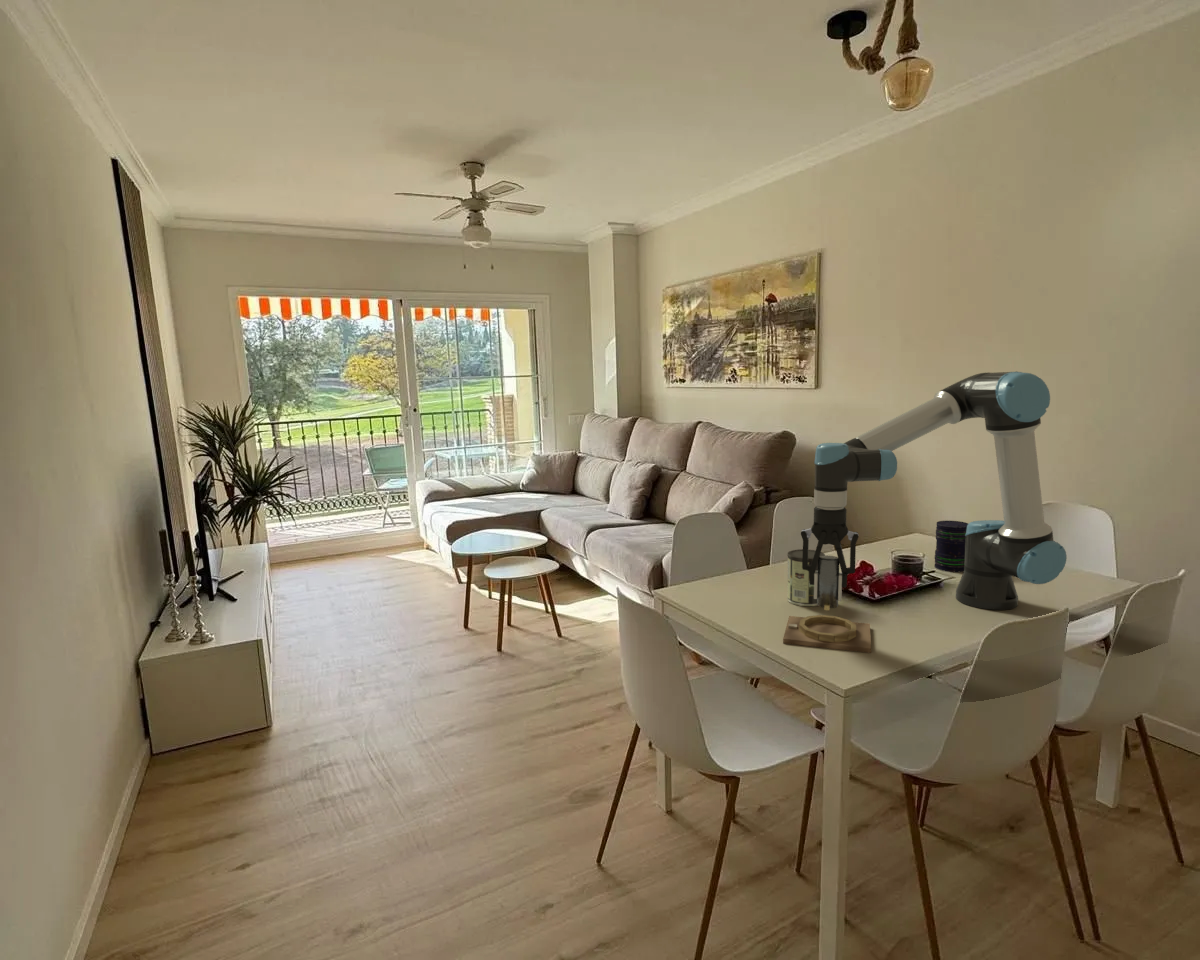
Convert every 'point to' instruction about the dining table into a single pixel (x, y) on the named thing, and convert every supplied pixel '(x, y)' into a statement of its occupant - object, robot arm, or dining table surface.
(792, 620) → the board
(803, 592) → the coffee can
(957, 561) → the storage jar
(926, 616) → the dining table surface
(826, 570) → the grey rounded cylinder
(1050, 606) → the dining table surface
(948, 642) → the dining table surface
